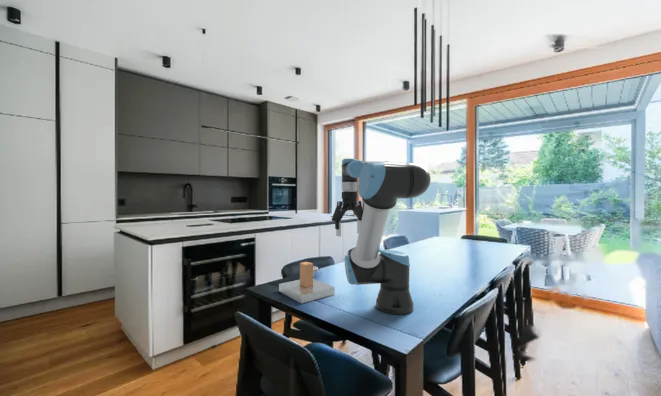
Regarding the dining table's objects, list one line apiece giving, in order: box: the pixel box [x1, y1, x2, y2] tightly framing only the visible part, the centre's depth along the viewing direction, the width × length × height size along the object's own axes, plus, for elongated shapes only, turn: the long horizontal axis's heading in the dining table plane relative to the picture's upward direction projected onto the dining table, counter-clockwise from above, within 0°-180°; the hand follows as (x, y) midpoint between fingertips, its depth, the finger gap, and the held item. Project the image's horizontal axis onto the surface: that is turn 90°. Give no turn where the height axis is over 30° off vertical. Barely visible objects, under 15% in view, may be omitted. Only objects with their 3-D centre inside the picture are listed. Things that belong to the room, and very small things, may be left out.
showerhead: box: [313, 265, 319, 277], centre depth 162 cm, size 9×7×10 cm
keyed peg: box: [299, 261, 314, 288], centre depth 140 cm, size 5×4×14 cm
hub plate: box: [278, 278, 336, 305], centre depth 140 cm, size 20×18×4 cm
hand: (349, 234), depth 144 cm, fingers open, 13 cm apart
